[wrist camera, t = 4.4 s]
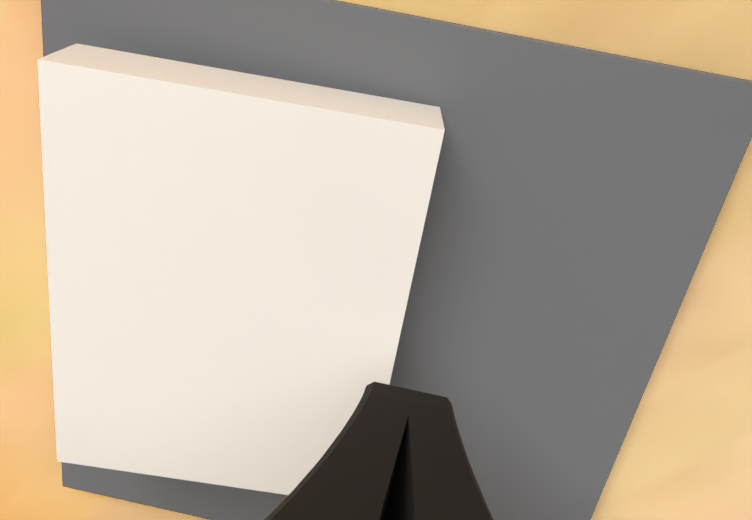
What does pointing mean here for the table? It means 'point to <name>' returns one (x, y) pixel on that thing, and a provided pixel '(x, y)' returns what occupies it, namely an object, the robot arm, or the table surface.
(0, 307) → the table surface
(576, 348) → the mat
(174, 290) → the tile
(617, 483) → the table surface
